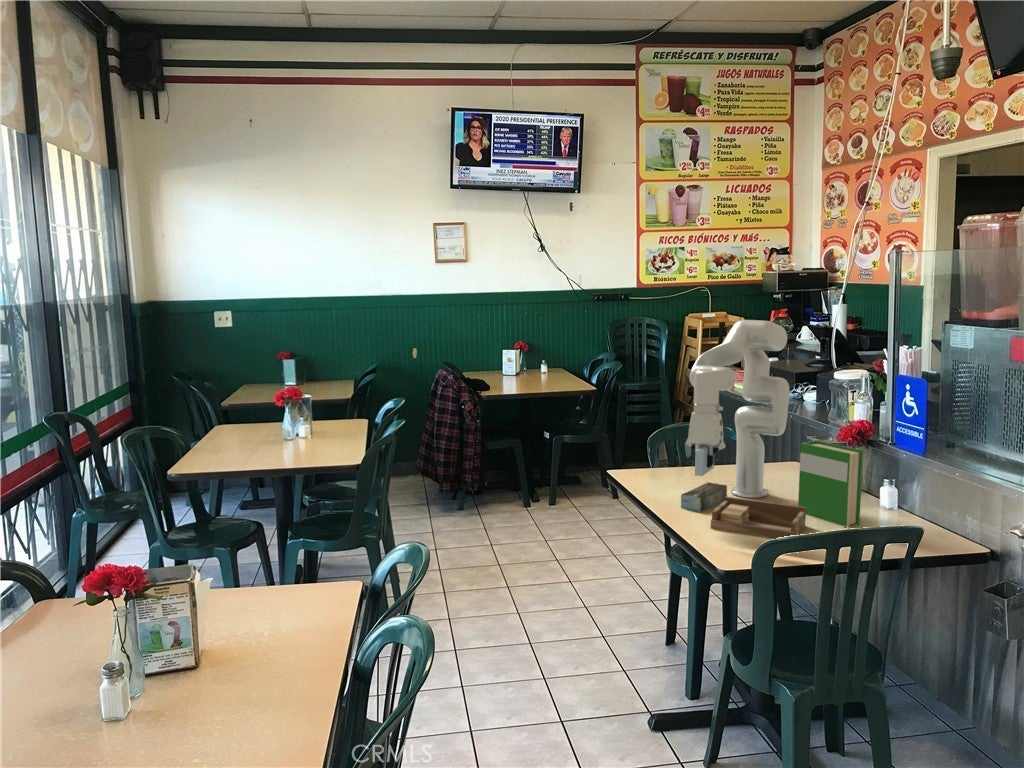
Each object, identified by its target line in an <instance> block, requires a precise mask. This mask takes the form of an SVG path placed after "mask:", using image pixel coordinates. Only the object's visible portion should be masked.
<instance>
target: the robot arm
mask: <svg viewBox="0 0 1024 768" xmlns="http://www.w3.org/2000/svg"><path fill="white" fill-rule="evenodd" d="M787 343H788V334H787V331H786V329H785V328H784V327H783V326H782V325H779V324H777V323H775V322H772V321H770V320H757V319H742V320H741V319H740V320H737V321H736V322H735V323H734V324H733V325H732V327H731V329H730V330H729V332H727V335H726V336H725V338H724V340H723V341H722V343H721V344H719V345H716V346H715V347H712V348H711V349H709V350H706V351H705V352H703V353H702V354H700V356H698V357H697V359H696V360H695V362H694V364H693V366H692V368H691V370H690V373H689V382H690V384H691V386H692V387H693V388H694V389H693V390H694V391H693V411H692V412H691V416H690V419H689V420H690V421H689V426H688V437H687V439H686V441H685V445H687V446H688V447H689V448H691V449H692V450H693V452H695V450H696V449H698V448H700V447H701V446H703V445H709V455H708V456H707V467H708V468H710V467H711V466H712V465H713V463H714V464H715V454H716V453H717V452H718V451H721V450H723V449H726V443H725V441H724V426H723V425H724V423H723V417H722V413H720V412H723V411H724V407H723V406H721V405H720V400H719V399H720V391H722V392H723V391H729V390H730V389H732V388H733V387H734V386H735V384H736V380H737V375H736V372H735V371H734V369H732V368H731V367H728V366H732V365H735V364H738V363H740V362H742V361H743V360H744V373H743V382H742V390H741V391H742V398H743V399H744V400H745V401H747V402H751V403H756V404H757V403H759V404H768V405H772V407H766V406H765V407H764V406H756V405H744V406H740V407H738V409H737V410H736V411H735V414H734V424H735V431H736V456H735V486H733V487H732V488H730V492H731V493H730V494H732V495H733V496H736V495H737V496H736V497H740V498H745V499H746V498H749V499H759V498H763V497H766V496H768V493H769V491H768V489H766V488H764V477H765V476H764V474H765V473H764V472H765V471H764V470H765V469H764V468H765V444H764V441H763V439H762V437H761V436H760V435H763V436H771V437H772V436H774V437H778V436H781V435H783V434H784V432H785V430H786V427H787V422H788V420H787V419H788V411H789V402H790V385H789V382H788V381H787V380H786V378H783V377H781V376H780V377H779V376H770V368H771V361H770V359H769V356H768V355H767V354H766V352H765V351H771V352H779V351H783V349H784V348H785V347H786V345H787Z"/></svg>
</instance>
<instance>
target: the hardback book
mask: <svg viewBox="0 0 1024 768" xmlns="http://www.w3.org/2000/svg"><path fill="white" fill-rule="evenodd" d="M863 462H864V450H863V449H859V448H858V449H857V448H854V447H853V448H852V447H849V446H843V445H839V444H835V443H830V442H825V441H821V440H810V441H805V442H801V443H800V455H799V477H798V478H799V479H798V501H797V503H798V505H797V506H801V507H806V516H809V517H810V516H811V517H813V518H817V519H821V520H823V521H827V522H830V523H833V524H836V525H840V526H843V527H844V528H846V529H847V526H849V525H854V524H857V525H856V526H860V519H861V503H862V502H861V501H862V484H863V483H862V482H863V465H864V463H863ZM844 528H843V529H844Z"/></svg>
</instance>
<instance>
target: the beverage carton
mask: <svg viewBox="0 0 1024 768" xmlns="http://www.w3.org/2000/svg"><path fill="white" fill-rule="evenodd" d="M726 496H727V497H728V485H727V484H720V483H715V482H714V483H713V482H706V483H703V484H702V485H699V486H697V487H695V488H694V489H690V490H688V491H686V492H684V493H682V494H681V495H680V508H681V509H686V510H690V511H695V512H699V513H701V512H703V511H705V510H708V509H710V508H712V507H714V506H716V505H717V506H718V505H720V504H721V503H722V502H723V501H725V497H726Z"/></svg>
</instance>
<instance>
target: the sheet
mask: <svg viewBox="0 0 1024 768" xmlns="http://www.w3.org/2000/svg"><path fill="white" fill-rule="evenodd" d="M694 453H695V455H694V456H695V457H694V476H698V477H703V476H705V475H707V473H709V472H710V471H711V470H713V469H714V468H715V462H714V463H713V465H712V466H711V467H710V468H708V467H707V456H708V455H709V445H702V446H701V447H700V448H698V449H696V450H695V451H694Z"/></svg>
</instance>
